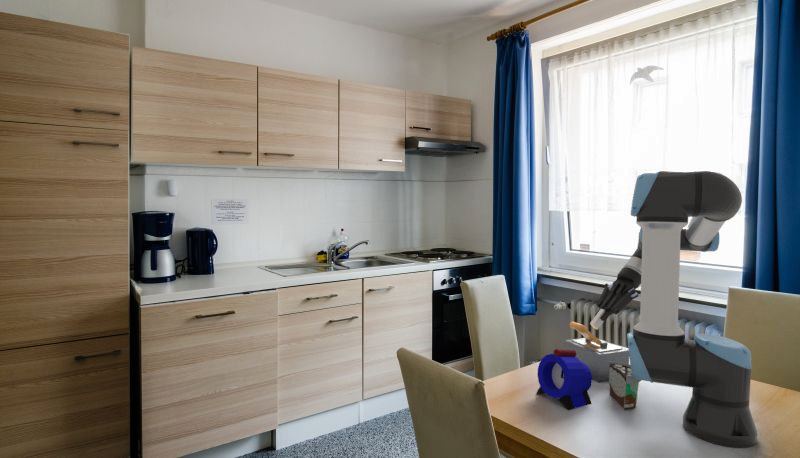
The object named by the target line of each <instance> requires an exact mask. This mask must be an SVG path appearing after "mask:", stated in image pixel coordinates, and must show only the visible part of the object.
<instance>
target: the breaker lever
mask: <svg viewBox="0 0 800 458" xmlns="http://www.w3.org/2000/svg"><path fill="white" fill-rule="evenodd" d="M569 328H571V329H574V330H575V331H577V332H578V333H579V334H580V335H582V336H583V338H586V339H587V340H589V341H590V342H593V343H596V344H598V345H600V343H601V341H600V340H599V339H600V338H598V337H596V336H595V335H594V334H593V333H592V332H591V331H590V330H589V329H588V327H587V325H584V324H581V323H578V322H576V321H570V322H569Z"/></svg>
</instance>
